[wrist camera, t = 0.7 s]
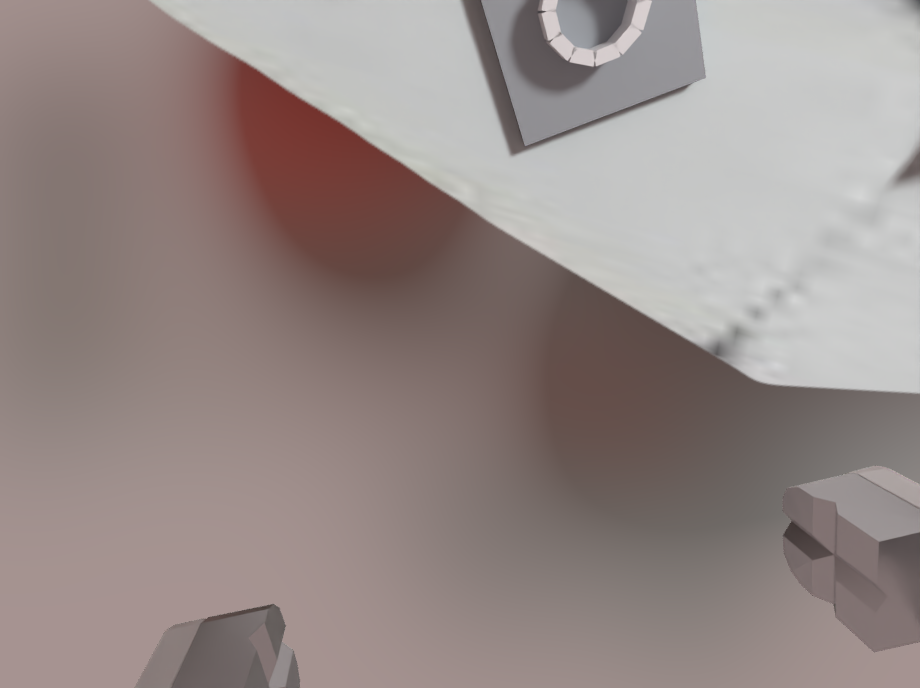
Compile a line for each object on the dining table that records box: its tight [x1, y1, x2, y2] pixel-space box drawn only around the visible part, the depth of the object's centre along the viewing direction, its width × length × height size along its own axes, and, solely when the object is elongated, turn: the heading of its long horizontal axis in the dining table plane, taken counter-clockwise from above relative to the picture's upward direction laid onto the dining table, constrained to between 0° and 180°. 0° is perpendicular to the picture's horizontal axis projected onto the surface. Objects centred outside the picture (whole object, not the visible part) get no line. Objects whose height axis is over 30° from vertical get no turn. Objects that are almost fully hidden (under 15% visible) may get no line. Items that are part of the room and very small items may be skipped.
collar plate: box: [481, 0, 706, 146], centre depth 40 cm, size 16×15×4 cm
